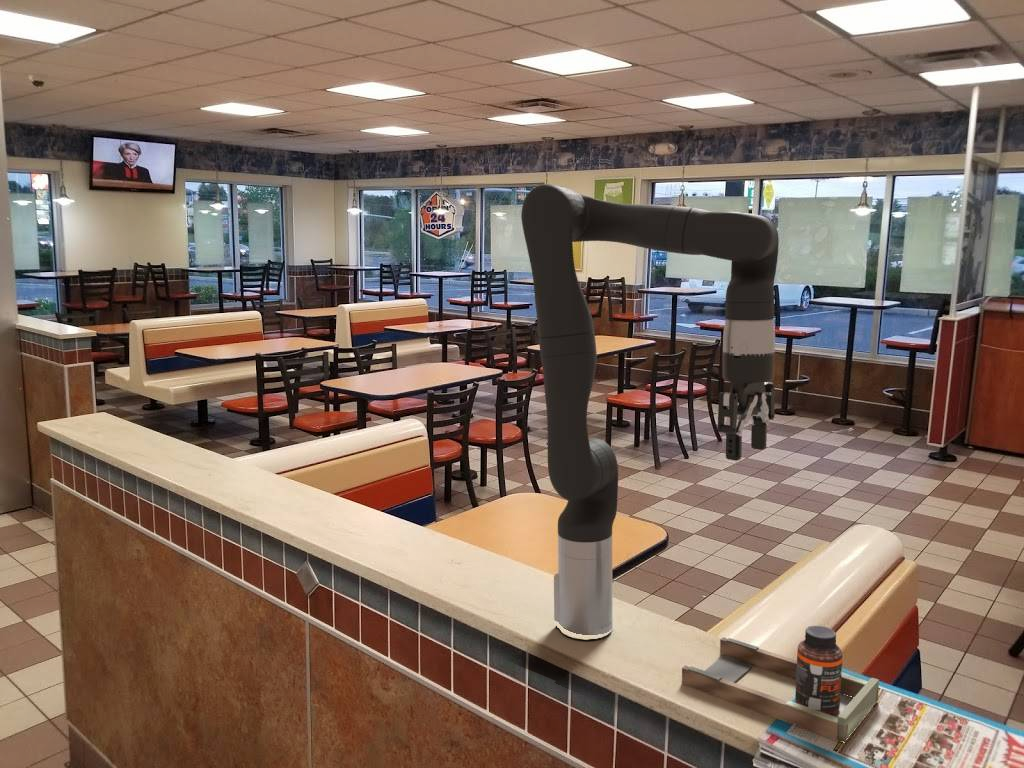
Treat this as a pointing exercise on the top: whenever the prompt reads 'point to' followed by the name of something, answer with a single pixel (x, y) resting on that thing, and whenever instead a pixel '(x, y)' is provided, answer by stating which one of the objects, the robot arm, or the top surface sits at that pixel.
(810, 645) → the supplement bottle
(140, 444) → the top surface
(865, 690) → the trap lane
